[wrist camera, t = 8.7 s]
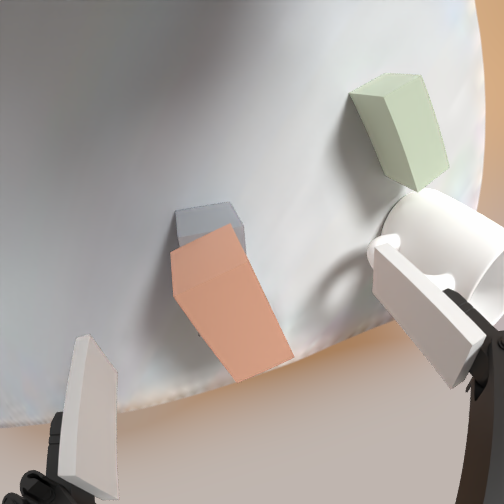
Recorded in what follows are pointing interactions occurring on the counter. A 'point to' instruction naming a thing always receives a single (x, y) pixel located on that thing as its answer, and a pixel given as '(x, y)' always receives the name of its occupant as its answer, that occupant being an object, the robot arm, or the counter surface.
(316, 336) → the counter surface
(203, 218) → the slate brick
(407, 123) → the sage brick
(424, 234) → the mug
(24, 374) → the counter surface
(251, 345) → the terracotta brick
